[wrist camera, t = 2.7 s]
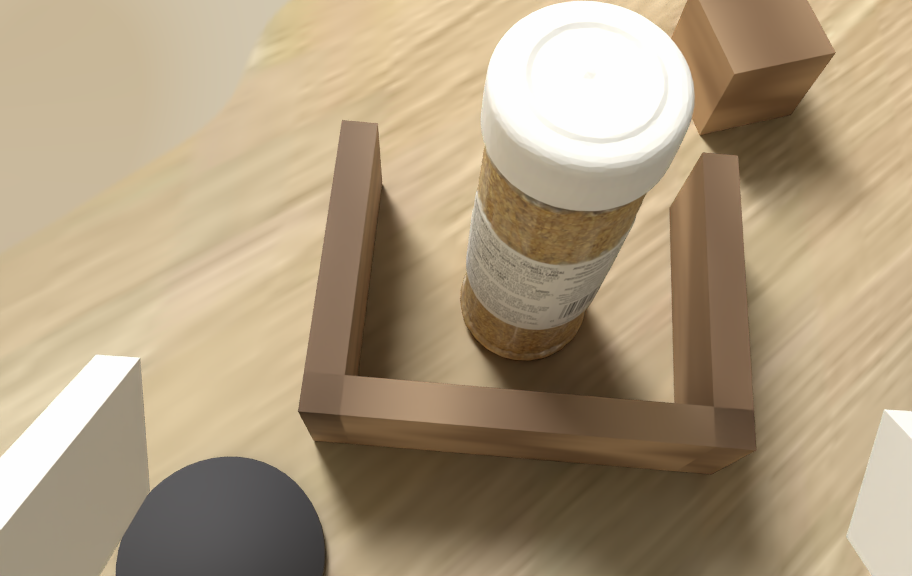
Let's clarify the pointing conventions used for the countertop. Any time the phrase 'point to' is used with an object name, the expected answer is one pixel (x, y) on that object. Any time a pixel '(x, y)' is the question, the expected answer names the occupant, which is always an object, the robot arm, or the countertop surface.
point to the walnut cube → (750, 58)
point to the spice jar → (566, 166)
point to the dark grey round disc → (224, 524)
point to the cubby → (529, 412)
